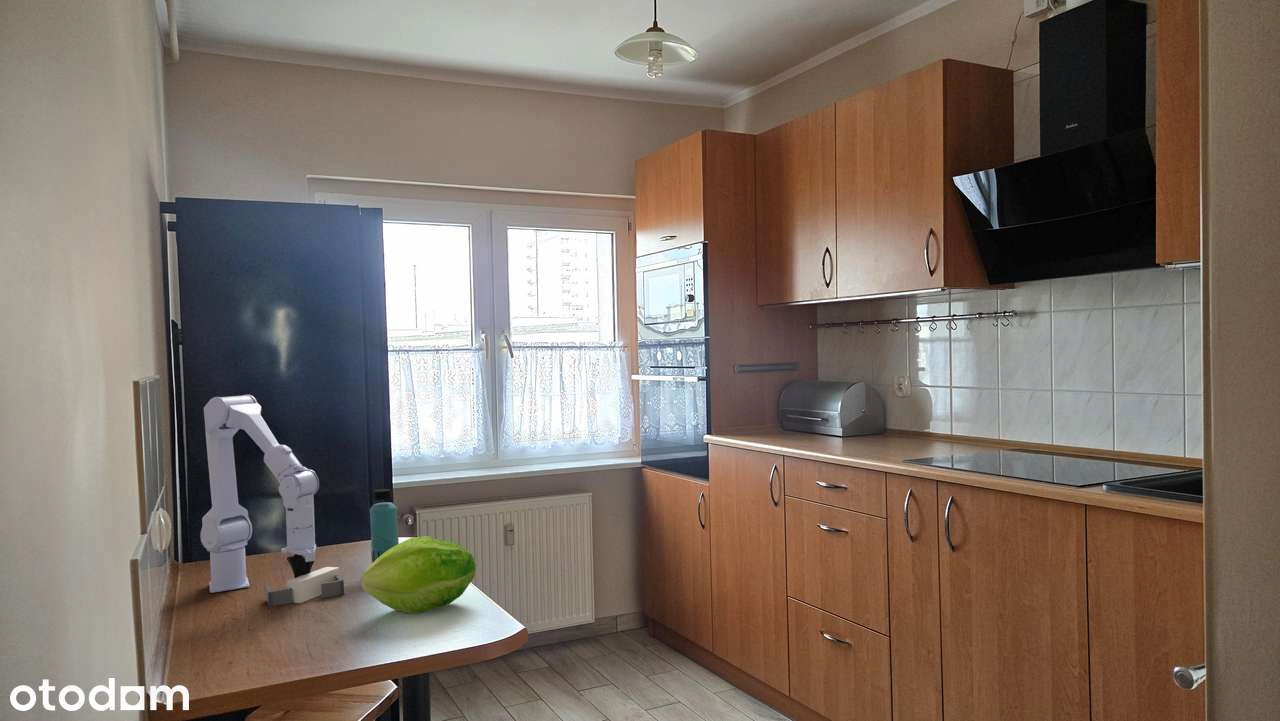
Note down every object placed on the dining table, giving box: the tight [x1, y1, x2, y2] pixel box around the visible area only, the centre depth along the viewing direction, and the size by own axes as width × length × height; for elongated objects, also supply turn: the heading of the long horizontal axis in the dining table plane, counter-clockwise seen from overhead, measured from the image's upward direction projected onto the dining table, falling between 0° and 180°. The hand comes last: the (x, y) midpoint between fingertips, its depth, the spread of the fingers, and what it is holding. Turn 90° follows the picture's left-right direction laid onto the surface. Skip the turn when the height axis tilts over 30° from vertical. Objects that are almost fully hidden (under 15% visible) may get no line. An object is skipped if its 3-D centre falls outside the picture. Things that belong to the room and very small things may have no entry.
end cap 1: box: [265, 585, 293, 608], centre depth 177 cm, size 6×4×3 cm
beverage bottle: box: [369, 488, 400, 564], centre depth 197 cm, size 6×7×20 cm
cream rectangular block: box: [286, 566, 341, 604], centre depth 182 cm, size 4×12×4 cm, turn 159°
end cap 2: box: [321, 575, 345, 599], centre depth 182 cm, size 6×4×3 cm
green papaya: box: [360, 535, 477, 614], centre depth 167 cm, size 15×23×16 cm
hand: (302, 588), depth 183 cm, fingers closed, pressing on cream rectangular block
